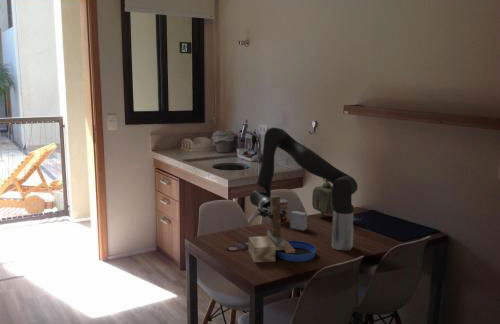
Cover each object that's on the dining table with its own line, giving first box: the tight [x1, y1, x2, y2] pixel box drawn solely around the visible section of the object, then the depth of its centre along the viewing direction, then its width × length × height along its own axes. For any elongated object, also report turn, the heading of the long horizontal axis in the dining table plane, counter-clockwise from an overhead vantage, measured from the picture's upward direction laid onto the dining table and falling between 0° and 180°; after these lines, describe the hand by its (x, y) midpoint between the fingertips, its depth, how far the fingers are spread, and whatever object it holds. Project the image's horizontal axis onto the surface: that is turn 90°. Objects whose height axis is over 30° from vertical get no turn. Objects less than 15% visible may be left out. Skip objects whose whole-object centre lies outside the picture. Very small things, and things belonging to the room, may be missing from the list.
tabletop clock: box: [311, 178, 333, 219], centre depth 255 cm, size 14×9×25 cm, turn 32°
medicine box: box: [289, 210, 308, 231], centre depth 235 cm, size 8×4×9 cm, turn 58°
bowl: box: [275, 240, 317, 262], centre depth 199 cm, size 18×18×4 cm
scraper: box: [266, 194, 286, 247], centre depth 195 cm, size 4×15×20 cm, turn 11°
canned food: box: [280, 198, 289, 225], centre depth 247 cm, size 8×8×12 cm
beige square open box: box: [247, 235, 287, 263], centre depth 196 cm, size 14×14×6 cm
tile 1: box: [283, 247, 295, 253], centre depth 194 cm, size 4×4×1 cm
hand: (277, 216), depth 192 cm, fingers closed on scraper, 3 cm apart
